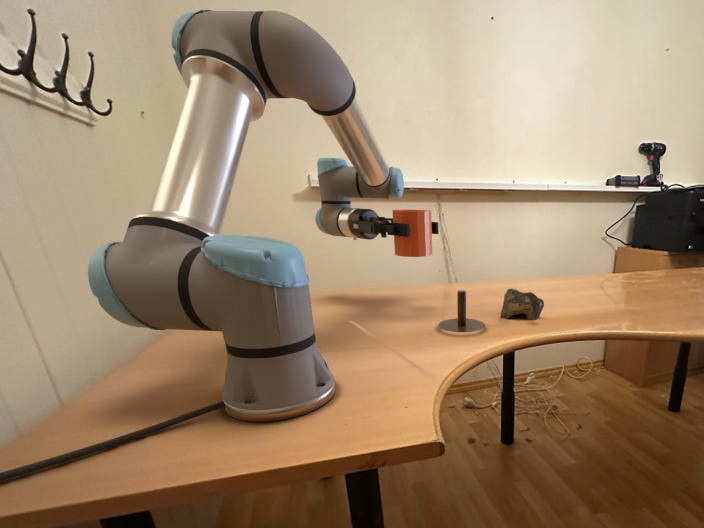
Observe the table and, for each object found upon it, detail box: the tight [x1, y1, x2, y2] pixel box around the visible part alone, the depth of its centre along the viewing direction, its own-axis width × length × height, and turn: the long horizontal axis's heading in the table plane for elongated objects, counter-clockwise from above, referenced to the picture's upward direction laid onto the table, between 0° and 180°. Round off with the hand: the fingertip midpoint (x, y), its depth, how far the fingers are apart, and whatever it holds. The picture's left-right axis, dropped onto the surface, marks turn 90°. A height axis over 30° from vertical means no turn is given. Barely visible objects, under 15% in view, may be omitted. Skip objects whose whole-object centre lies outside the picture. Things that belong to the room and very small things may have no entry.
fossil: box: [500, 288, 545, 321], centre depth 102 cm, size 11×9×10 cm
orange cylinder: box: [391, 208, 433, 258], centre depth 95 cm, size 9×9×10 cm
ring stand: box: [438, 289, 486, 333], centre depth 93 cm, size 11×11×9 cm
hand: (423, 229), depth 93 cm, fingers closed on orange cylinder, 9 cm apart
